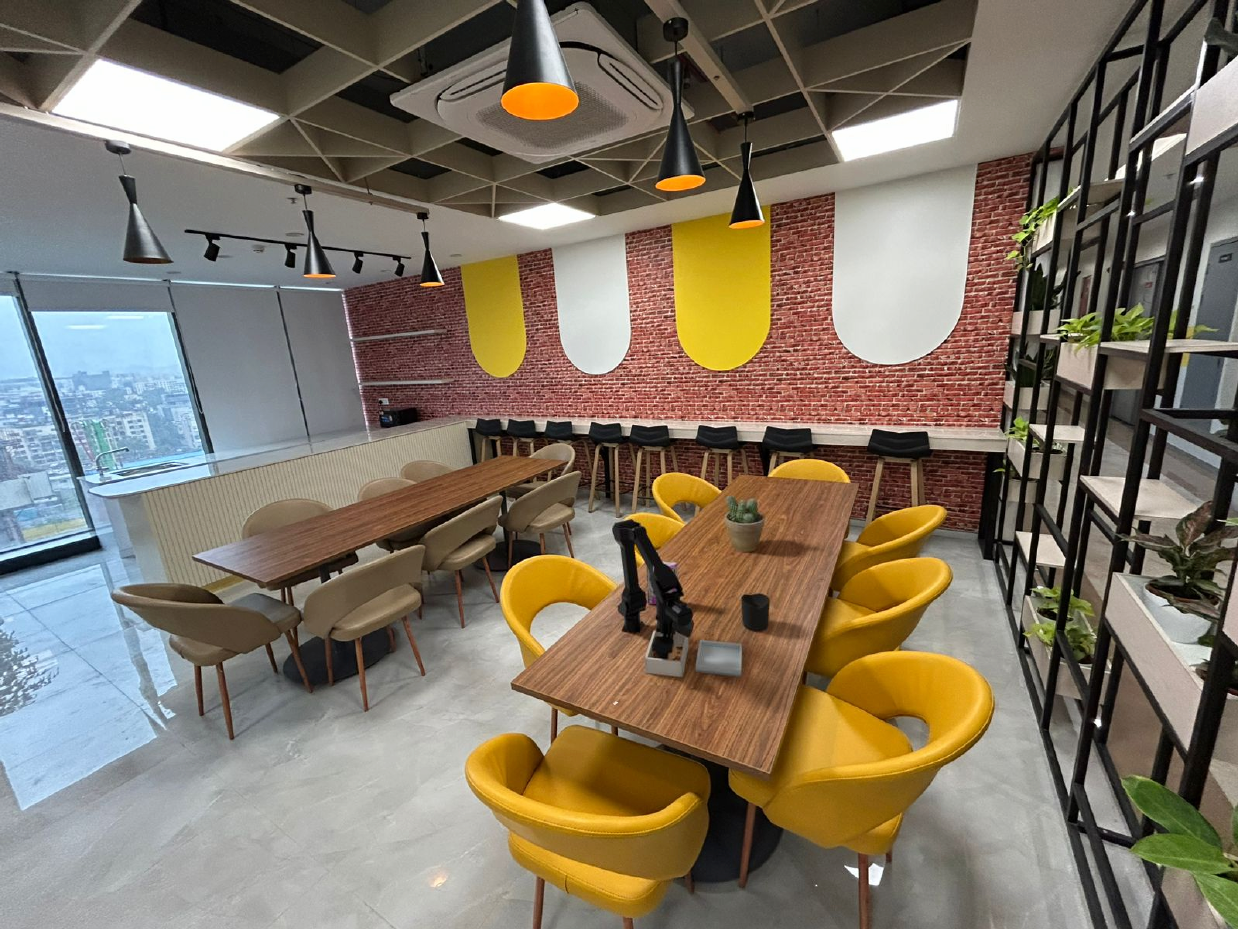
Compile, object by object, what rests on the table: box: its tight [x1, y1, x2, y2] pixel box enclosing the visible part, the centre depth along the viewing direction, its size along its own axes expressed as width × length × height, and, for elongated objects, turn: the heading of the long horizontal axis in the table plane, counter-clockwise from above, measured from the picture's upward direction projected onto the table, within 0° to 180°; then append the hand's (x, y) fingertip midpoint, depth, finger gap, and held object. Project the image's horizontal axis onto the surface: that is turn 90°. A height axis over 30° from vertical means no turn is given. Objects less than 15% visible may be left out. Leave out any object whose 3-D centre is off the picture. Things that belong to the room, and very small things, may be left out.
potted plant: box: [724, 495, 766, 553], centre depth 232 cm, size 18×19×25 cm
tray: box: [695, 639, 743, 678], centre depth 155 cm, size 13×13×2 cm
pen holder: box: [740, 593, 771, 632], centre depth 171 cm, size 9×9×10 cm
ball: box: [668, 645, 678, 660], centre depth 156 cm, size 6×6×6 cm
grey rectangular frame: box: [644, 629, 690, 678], centre depth 156 cm, size 15×11×5 cm
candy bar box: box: [646, 561, 679, 606], centre depth 189 cm, size 11×5×16 cm, turn 74°
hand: (667, 655), depth 157 cm, fingers open, 9 cm apart
